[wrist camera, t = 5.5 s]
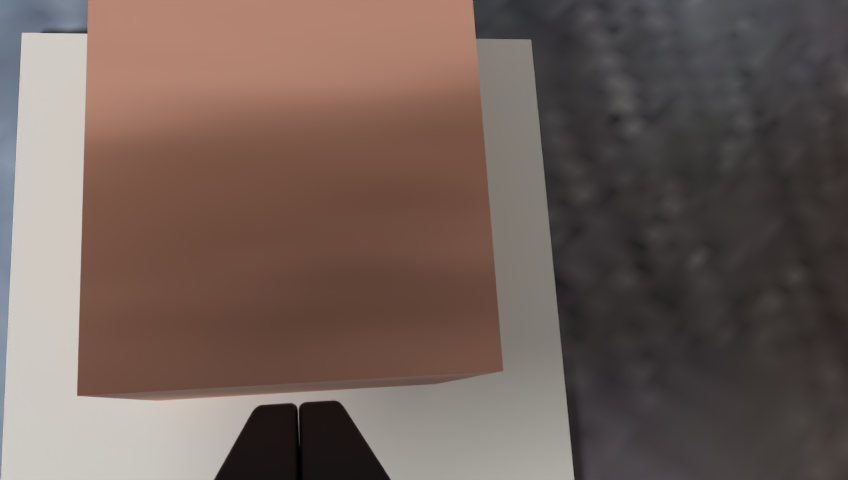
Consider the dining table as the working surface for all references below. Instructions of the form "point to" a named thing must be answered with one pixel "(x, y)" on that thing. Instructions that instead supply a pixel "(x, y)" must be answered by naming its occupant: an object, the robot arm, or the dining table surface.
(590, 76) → the dining table surface
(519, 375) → the white paper sheet
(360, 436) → the robot arm
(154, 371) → the brick block
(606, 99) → the dining table surface
